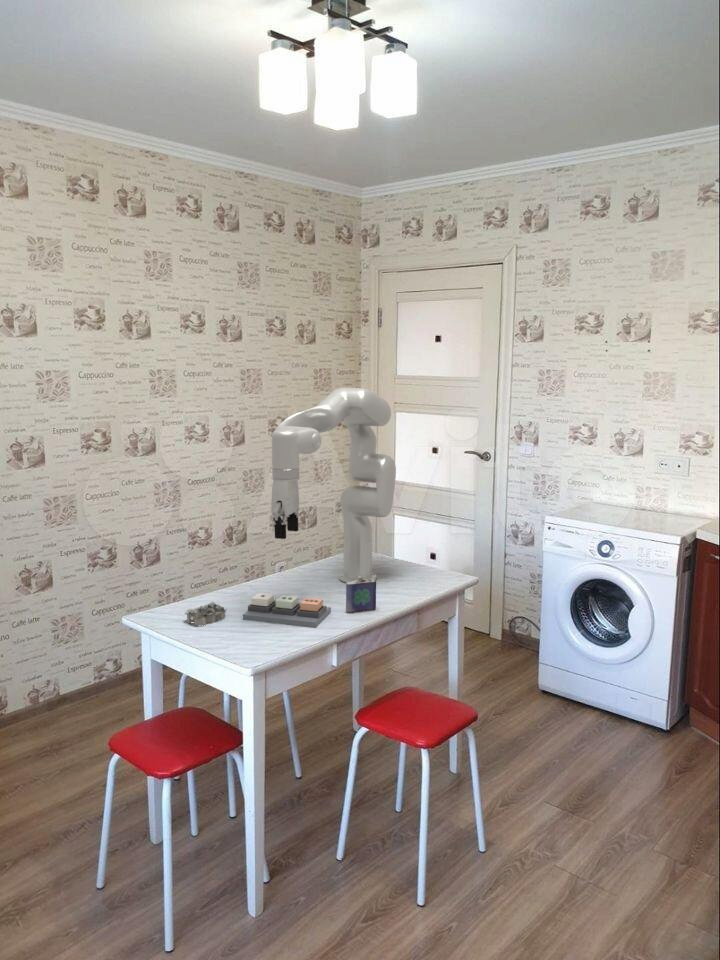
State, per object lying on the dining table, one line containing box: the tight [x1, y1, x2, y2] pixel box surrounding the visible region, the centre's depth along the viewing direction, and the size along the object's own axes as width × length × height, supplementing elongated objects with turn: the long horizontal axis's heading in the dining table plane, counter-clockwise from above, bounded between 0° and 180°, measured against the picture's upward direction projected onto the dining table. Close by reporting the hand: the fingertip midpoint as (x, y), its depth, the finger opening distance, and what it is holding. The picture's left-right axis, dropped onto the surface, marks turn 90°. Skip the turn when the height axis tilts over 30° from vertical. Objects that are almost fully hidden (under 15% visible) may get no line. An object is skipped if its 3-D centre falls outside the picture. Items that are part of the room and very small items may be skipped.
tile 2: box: [275, 595, 299, 609], centre depth 217 cm, size 5×5×2 cm
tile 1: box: [250, 592, 276, 606], centre depth 219 cm, size 5×5×2 cm
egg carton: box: [184, 601, 228, 627], centre depth 215 cm, size 11×8×4 cm
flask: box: [345, 575, 377, 614], centre depth 222 cm, size 9×3×11 cm, turn 109°
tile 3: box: [299, 597, 324, 611], centre depth 215 cm, size 5×5×2 cm
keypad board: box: [242, 600, 332, 629], centre depth 218 cm, size 13×22×3 cm, turn 73°
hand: (286, 534), depth 214 cm, fingers open, 8 cm apart
